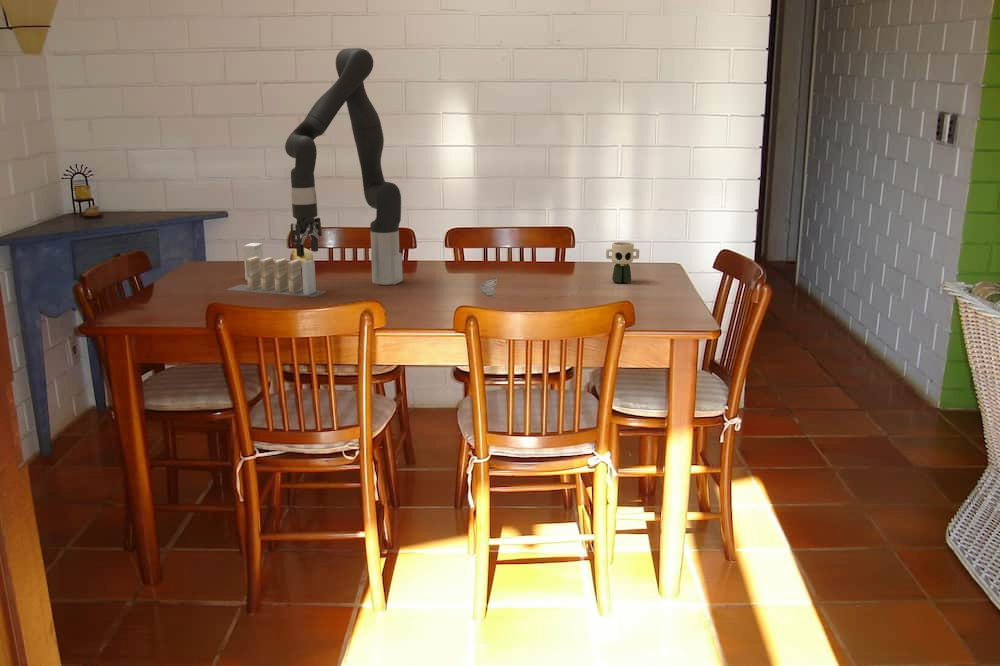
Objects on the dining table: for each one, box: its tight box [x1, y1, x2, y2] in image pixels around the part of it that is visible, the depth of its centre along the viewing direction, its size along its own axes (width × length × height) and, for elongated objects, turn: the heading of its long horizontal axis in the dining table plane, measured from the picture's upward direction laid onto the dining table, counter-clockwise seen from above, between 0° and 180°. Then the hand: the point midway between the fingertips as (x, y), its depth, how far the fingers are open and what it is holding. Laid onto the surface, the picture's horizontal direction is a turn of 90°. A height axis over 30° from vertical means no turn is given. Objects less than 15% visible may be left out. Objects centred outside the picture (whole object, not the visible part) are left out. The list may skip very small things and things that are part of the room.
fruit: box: [289, 247, 314, 271], centre depth 337 cm, size 8×8×8 cm
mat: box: [226, 283, 328, 298], centre depth 304 cm, size 32×8×1 cm, turn 71°
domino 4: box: [287, 259, 303, 294], centre depth 301 cm, size 2×5×10 cm, turn 161°
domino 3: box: [273, 257, 289, 293], centre depth 302 cm, size 2×5×10 cm, turn 161°
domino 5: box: [301, 259, 317, 295], centre depth 299 cm, size 2×5×10 cm, turn 161°
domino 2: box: [260, 256, 275, 292], centre depth 304 cm, size 2×5×10 cm, turn 161°
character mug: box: [605, 241, 640, 283], centre depth 315 cm, size 11×7×13 cm, turn 89°
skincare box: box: [242, 242, 264, 281], centre depth 321 cm, size 6×4×12 cm
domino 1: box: [246, 257, 261, 291], centre depth 305 cm, size 2×5×10 cm, turn 161°
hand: (307, 253), depth 297 cm, fingers open, 8 cm apart
